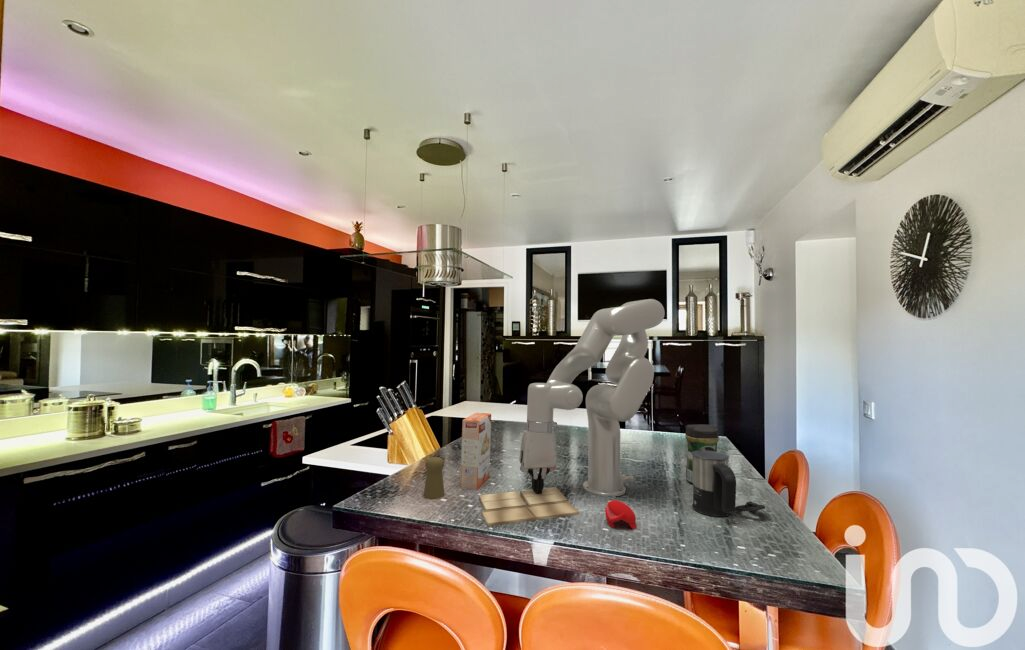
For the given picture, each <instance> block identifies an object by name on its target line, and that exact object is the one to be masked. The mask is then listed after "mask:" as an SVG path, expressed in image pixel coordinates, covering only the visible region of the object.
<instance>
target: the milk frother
mask: <svg viewBox="0 0 1025 650" xmlns="http://www.w3.org/2000/svg"><path fill="white" fill-rule="evenodd" d="M691 454H692V457H693V484H692V489H693V490H692V494H693V495H692V496H693V497H692V504H691V505H692V506H691V508H692V509H693V511H695V512H698V513H699V514H703V515H706V516H710V517H711V516H712V517H727V516H729V515H730V514H732V513H740V512H741V513H742V512H749V513H755V512H757V511H761V510H765V509H766V506H765V505H764V504H758V503H755V502H753V501H746V502H745V503H744V504H742V505H736V502H737V501H736V499H737V497H736V495H737V479H736V475H735V473H734V471H733V469H732V468H731V467H729V459H730V456H729V455H728V454H725V453H722V452H719V451H717V452H714V451H703V450H702V451H693V452H691Z"/></svg>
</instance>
